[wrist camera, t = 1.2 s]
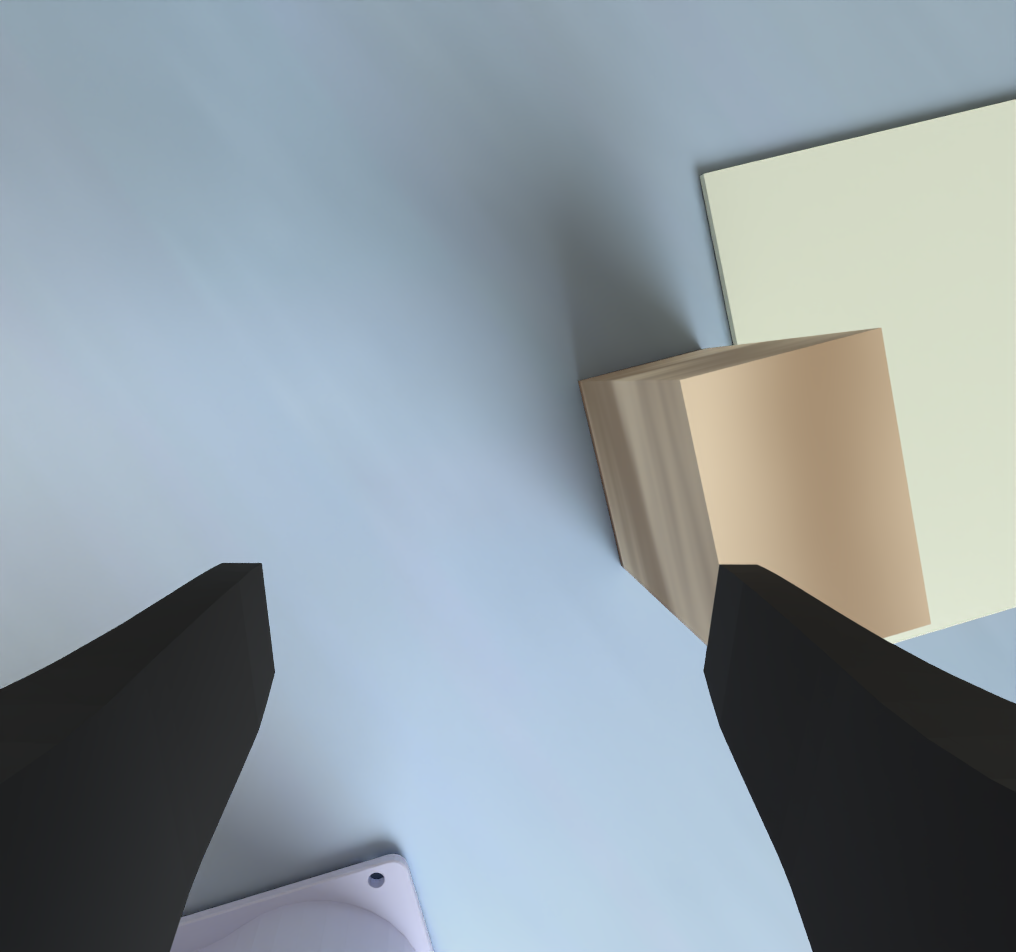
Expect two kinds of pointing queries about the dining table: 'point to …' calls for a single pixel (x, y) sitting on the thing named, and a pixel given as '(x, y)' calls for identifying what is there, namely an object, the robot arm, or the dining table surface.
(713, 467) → the birch block
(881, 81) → the dining table surface
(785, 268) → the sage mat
